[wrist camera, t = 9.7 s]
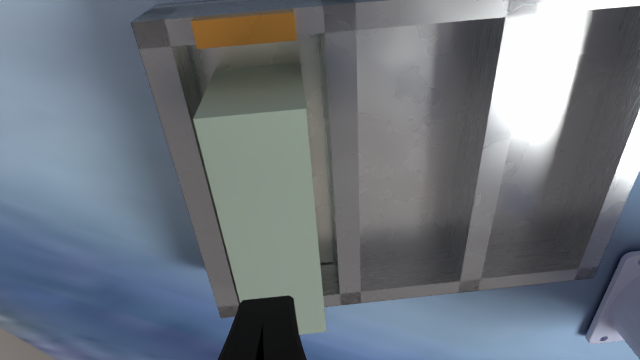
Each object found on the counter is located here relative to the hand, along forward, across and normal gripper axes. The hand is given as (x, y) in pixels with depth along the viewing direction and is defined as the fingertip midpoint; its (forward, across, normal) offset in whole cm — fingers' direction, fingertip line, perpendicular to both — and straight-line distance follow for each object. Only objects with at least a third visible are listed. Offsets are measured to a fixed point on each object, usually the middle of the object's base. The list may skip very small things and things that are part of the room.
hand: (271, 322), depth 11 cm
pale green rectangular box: (+8, 0, 0) cm, 8 cm away
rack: (+9, -6, 0) cm, 10 cm away
